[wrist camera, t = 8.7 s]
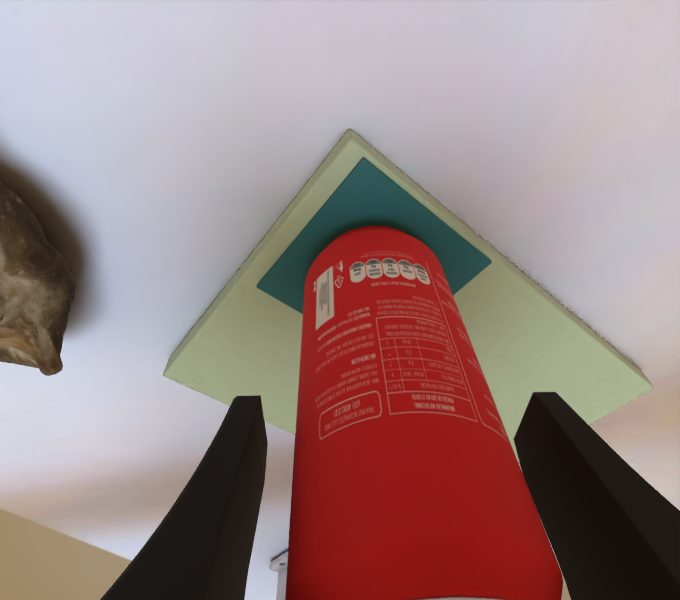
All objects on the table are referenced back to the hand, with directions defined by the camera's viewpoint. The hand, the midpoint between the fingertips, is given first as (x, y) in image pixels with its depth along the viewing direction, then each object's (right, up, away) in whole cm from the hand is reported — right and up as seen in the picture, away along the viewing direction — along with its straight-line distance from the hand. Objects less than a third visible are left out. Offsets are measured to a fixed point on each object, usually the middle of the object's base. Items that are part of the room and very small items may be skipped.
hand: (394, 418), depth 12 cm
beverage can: (0, +4, +6) cm, 7 cm away
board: (+2, 0, +11) cm, 11 cm away
